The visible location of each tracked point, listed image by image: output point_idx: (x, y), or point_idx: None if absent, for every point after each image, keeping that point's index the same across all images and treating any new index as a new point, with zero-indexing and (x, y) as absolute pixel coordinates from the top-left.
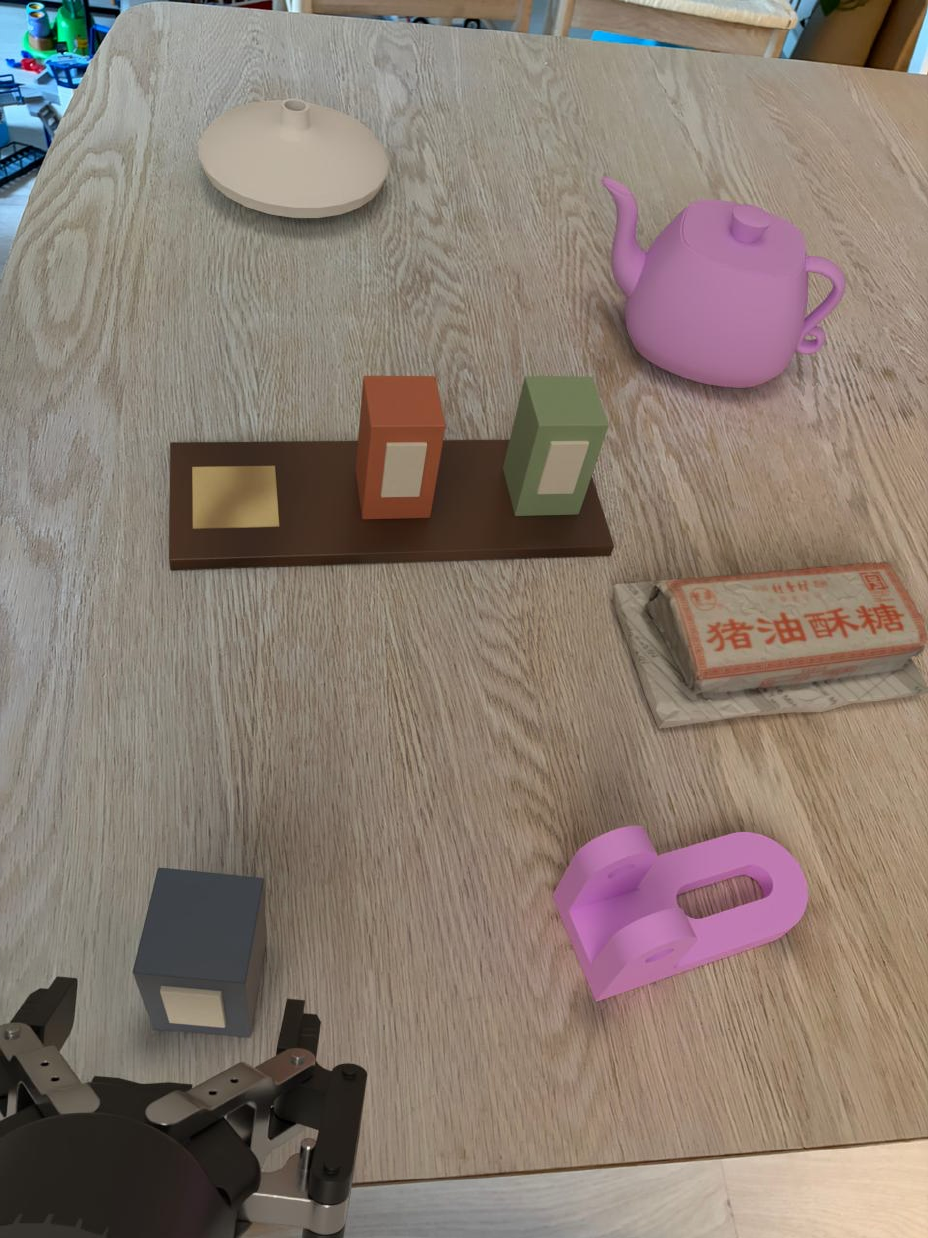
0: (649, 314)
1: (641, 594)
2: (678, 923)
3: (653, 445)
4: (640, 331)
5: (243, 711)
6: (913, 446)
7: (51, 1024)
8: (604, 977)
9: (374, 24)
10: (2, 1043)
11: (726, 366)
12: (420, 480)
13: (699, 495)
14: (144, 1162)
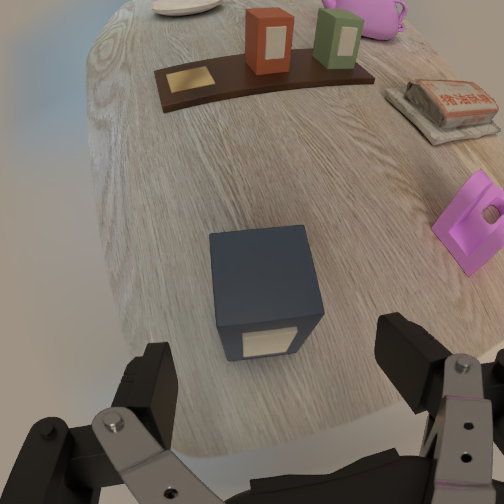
0: None
1: (398, 92)
2: None
3: (365, 53)
4: None
5: (222, 163)
6: (443, 61)
7: (157, 398)
8: (481, 259)
9: None
10: (104, 440)
11: (379, 28)
12: (284, 48)
13: (392, 67)
14: None
